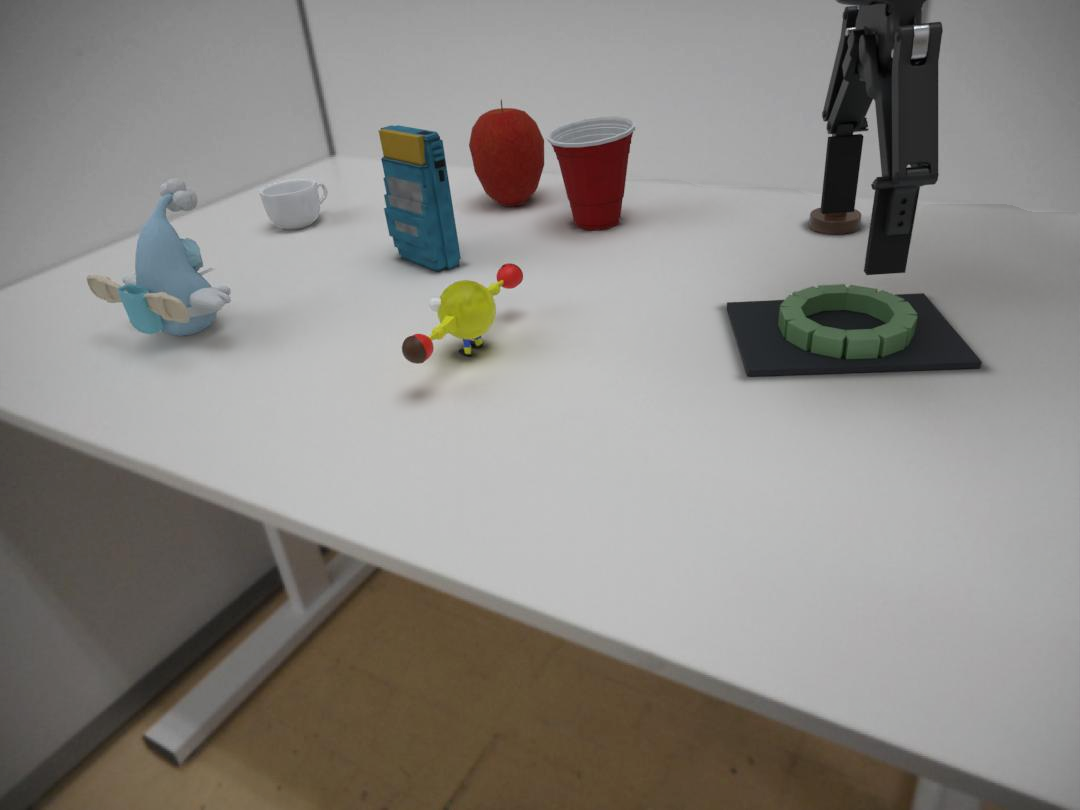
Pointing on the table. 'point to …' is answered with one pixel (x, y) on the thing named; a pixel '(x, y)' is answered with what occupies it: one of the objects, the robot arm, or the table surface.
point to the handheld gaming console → (419, 197)
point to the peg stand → (835, 222)
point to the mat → (778, 356)
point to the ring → (847, 342)
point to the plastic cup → (594, 167)
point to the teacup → (292, 202)
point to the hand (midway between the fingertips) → (858, 239)
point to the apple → (507, 155)
